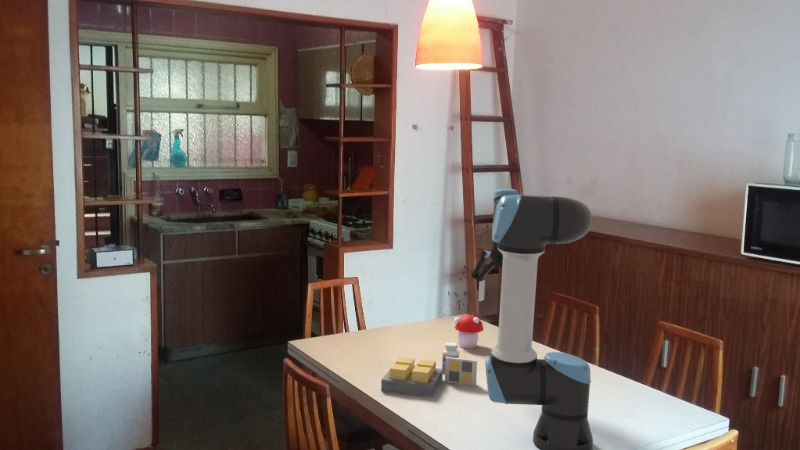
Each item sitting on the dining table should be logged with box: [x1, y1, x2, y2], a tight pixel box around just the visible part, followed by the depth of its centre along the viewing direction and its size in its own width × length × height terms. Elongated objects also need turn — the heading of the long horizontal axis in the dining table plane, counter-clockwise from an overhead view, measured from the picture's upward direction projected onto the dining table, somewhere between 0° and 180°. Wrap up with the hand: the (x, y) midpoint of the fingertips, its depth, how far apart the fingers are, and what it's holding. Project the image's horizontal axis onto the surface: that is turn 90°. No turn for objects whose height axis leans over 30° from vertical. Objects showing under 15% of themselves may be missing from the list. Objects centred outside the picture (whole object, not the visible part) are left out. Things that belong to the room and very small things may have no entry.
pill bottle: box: [441, 342, 460, 375], centre depth 239 cm, size 5×5×10 cm
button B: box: [389, 363, 409, 381], centre depth 223 cm, size 5×5×4 cm
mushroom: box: [453, 314, 485, 349], centre depth 269 cm, size 11×11×12 cm
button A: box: [412, 365, 431, 383], centre depth 221 cm, size 5×5×4 cm
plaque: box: [444, 357, 478, 386], centre depth 229 cm, size 1×10×8 cm, turn 76°
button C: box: [416, 358, 437, 376], centre depth 228 cm, size 5×5×4 cm
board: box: [380, 365, 444, 398], centre depth 226 cm, size 16×16×4 cm
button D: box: [395, 356, 416, 373], centre depth 230 cm, size 5×5×4 cm
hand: (500, 303), depth 229 cm, fingers open, 13 cm apart
